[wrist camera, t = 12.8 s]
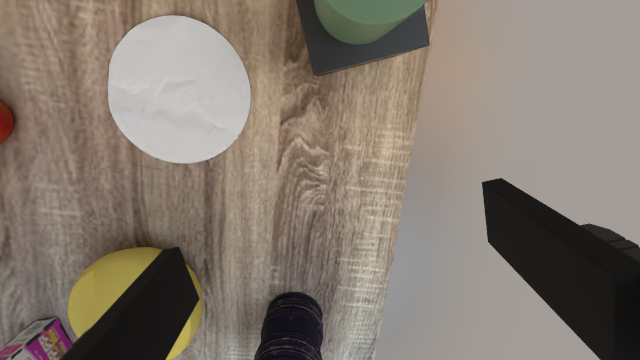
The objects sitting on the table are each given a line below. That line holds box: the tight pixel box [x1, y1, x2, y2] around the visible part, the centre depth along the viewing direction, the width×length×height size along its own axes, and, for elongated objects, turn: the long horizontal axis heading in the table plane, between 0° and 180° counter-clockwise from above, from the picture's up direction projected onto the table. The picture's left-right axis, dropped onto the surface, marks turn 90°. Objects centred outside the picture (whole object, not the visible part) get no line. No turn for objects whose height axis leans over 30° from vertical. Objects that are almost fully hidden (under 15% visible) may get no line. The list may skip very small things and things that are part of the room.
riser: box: [296, 0, 430, 76], centre depth 38 cm, size 11×11×16 cm
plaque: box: [108, 15, 251, 163], centre depth 48 cm, size 20×20×2 cm
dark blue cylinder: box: [254, 292, 323, 360], centre depth 52 cm, size 10×10×15 cm
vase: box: [68, 247, 203, 360], centre depth 48 cm, size 18×18×19 cm
